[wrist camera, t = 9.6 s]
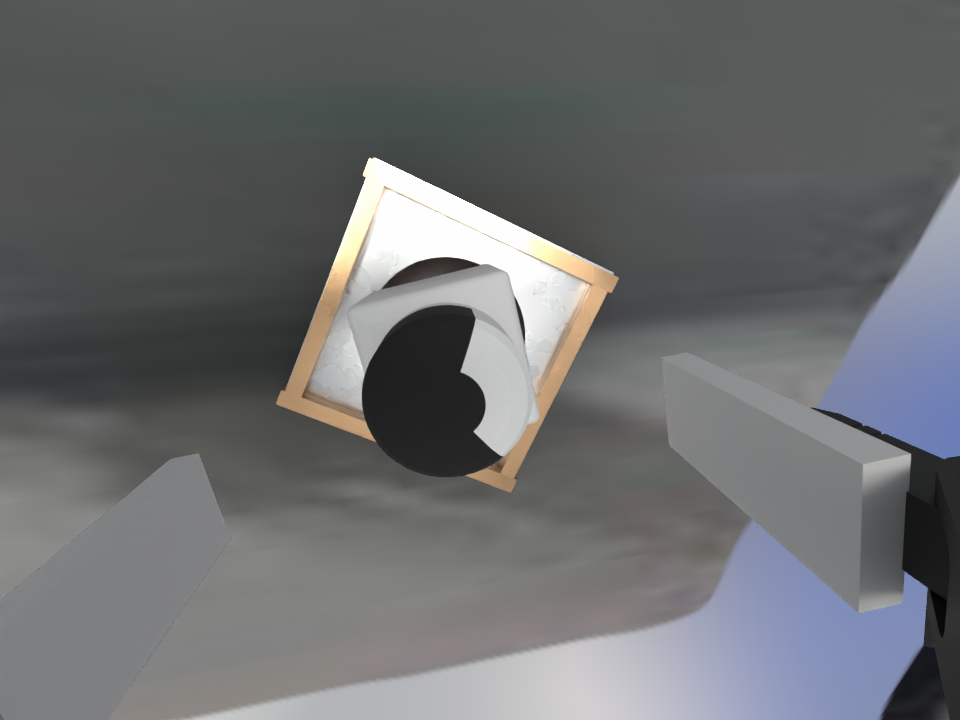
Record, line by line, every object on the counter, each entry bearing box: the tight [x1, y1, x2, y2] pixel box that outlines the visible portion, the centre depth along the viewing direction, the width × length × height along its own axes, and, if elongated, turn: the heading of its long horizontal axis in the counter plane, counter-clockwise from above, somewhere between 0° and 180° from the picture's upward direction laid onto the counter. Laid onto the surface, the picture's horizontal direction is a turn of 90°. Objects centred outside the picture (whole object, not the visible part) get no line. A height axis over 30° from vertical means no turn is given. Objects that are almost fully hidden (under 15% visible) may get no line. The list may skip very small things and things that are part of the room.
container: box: [347, 264, 539, 477], centre depth 24 cm, size 8×8×13 cm
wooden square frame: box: [276, 158, 619, 493], centre depth 30 cm, size 16×16×2 cm
